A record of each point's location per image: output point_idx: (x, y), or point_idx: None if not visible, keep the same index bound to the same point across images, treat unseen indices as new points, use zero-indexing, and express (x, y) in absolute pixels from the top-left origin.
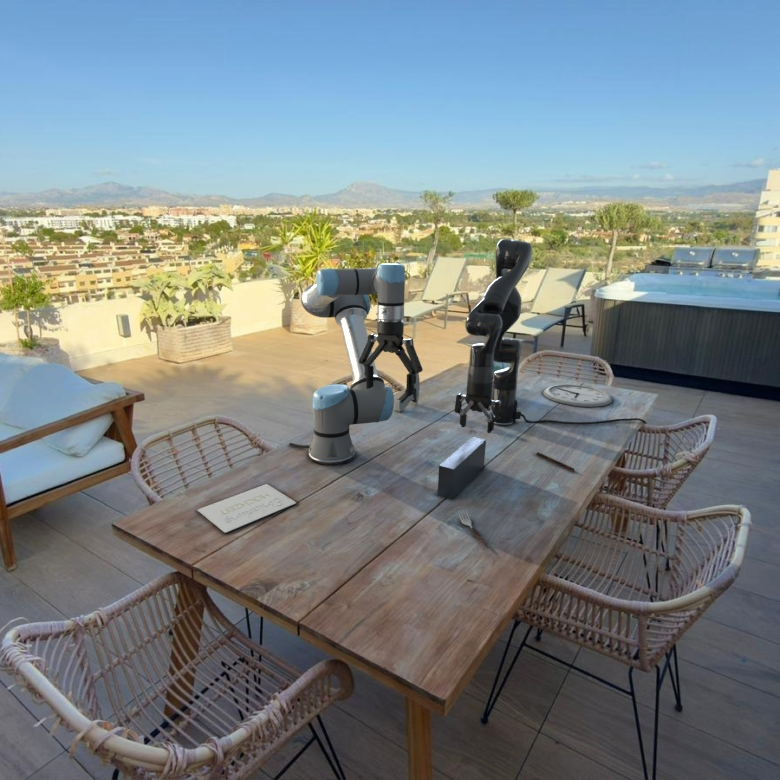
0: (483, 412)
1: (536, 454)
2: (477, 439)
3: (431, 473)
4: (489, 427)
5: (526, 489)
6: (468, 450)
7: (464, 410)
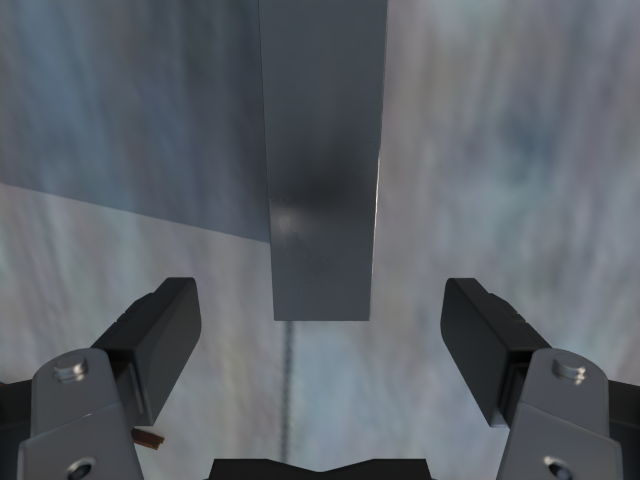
0: (129, 448)
1: (163, 438)
2: (325, 299)
3: (489, 41)
4: (147, 305)
5: (40, 140)
6: (303, 69)
7: (569, 427)
